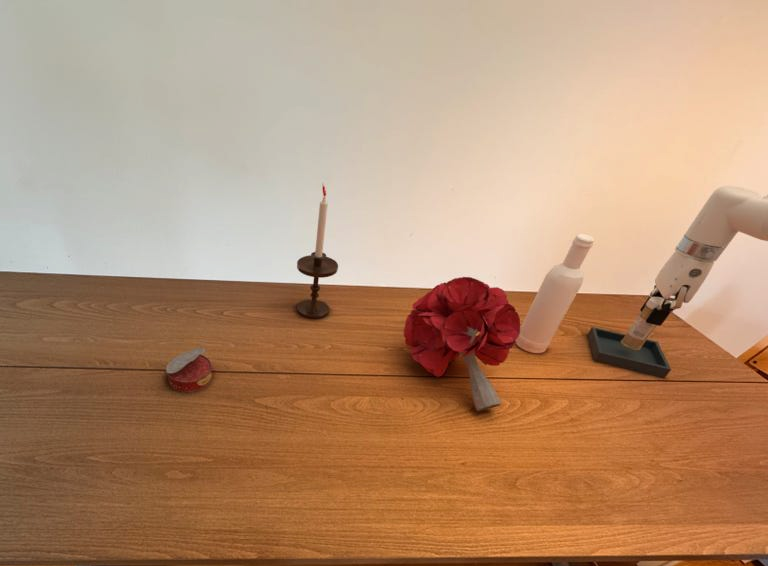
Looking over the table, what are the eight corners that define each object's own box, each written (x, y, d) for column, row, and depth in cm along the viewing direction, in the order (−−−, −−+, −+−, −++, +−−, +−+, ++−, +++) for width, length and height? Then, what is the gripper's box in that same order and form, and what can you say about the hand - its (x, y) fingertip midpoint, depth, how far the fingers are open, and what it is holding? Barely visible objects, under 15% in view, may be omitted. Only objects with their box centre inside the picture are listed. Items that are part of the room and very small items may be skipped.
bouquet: (504, 410, 102) (461, 301, 112) (576, 380, 80) (515, 248, 89) (422, 427, 98) (385, 313, 108) (474, 401, 76) (422, 261, 86)
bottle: (551, 346, 112) (611, 238, 93) (538, 357, 108) (598, 247, 89) (522, 332, 116) (574, 227, 97) (508, 342, 112) (559, 234, 93)
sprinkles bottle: (644, 348, 108) (677, 303, 99) (633, 352, 106) (666, 307, 97) (626, 338, 111) (657, 294, 102) (615, 342, 109) (646, 297, 100)
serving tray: (651, 349, 113) (657, 341, 111) (664, 378, 104) (671, 369, 102) (586, 334, 117) (591, 326, 115) (593, 360, 108) (599, 352, 106)
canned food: (184, 407, 95) (157, 385, 87) (175, 375, 101) (150, 352, 93) (227, 382, 94) (204, 358, 86) (215, 351, 100) (193, 327, 93)
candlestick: (298, 322, 115) (308, 191, 93) (290, 301, 123) (298, 176, 101) (336, 319, 117) (355, 190, 95) (326, 299, 125) (341, 175, 103)
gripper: (736, 267, 84) (678, 340, 96) (706, 237, 96) (658, 305, 108) (692, 260, 86) (640, 332, 98) (668, 231, 98) (625, 298, 110)
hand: (650, 317), depth 103 cm, fingers closed on sprinkles bottle, 4 cm apart
